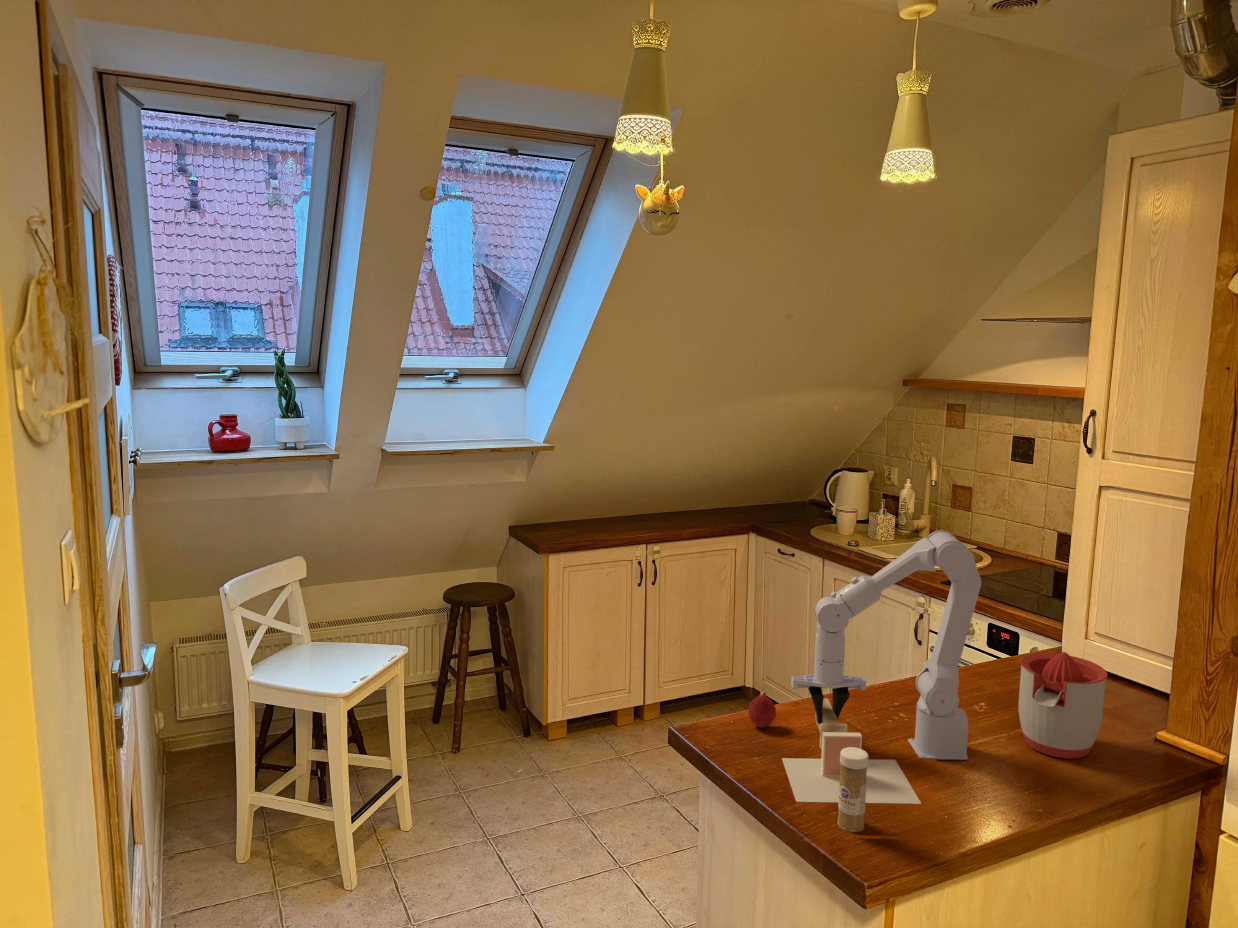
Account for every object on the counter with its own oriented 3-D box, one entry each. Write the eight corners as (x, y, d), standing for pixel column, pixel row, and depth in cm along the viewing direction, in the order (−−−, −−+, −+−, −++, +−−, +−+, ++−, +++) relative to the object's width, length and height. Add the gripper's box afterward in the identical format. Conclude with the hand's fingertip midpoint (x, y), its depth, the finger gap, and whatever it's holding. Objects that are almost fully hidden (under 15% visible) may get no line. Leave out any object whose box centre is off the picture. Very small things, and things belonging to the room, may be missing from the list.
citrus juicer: (998, 749, 176) (1005, 654, 173) (1030, 722, 188) (1037, 633, 185) (1082, 777, 165) (1091, 675, 162) (1111, 746, 177) (1119, 652, 174)
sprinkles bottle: (832, 827, 147) (835, 752, 145) (844, 816, 151) (847, 743, 149) (857, 837, 145) (861, 761, 143) (869, 826, 148) (873, 751, 146)
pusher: (832, 720, 182) (834, 698, 181) (846, 749, 170) (847, 725, 170) (808, 720, 182) (809, 698, 181) (820, 748, 171) (821, 724, 170)
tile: (858, 772, 165) (859, 732, 164) (860, 776, 164) (862, 736, 162) (820, 771, 165) (822, 731, 164) (822, 776, 164) (824, 735, 162)
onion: (775, 735, 181) (776, 699, 180) (747, 733, 182) (748, 696, 181) (775, 723, 187) (776, 687, 186) (748, 721, 188) (749, 685, 187)
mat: (895, 762, 170) (895, 759, 170) (921, 806, 154) (921, 803, 154) (781, 760, 171) (781, 757, 171) (796, 803, 155) (796, 801, 155)
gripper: (861, 650, 178) (858, 713, 180) (789, 649, 179) (787, 712, 181) (869, 663, 171) (866, 729, 173) (795, 662, 172) (793, 728, 174)
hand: (826, 721), depth 176 cm, fingers closed on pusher, 2 cm apart
